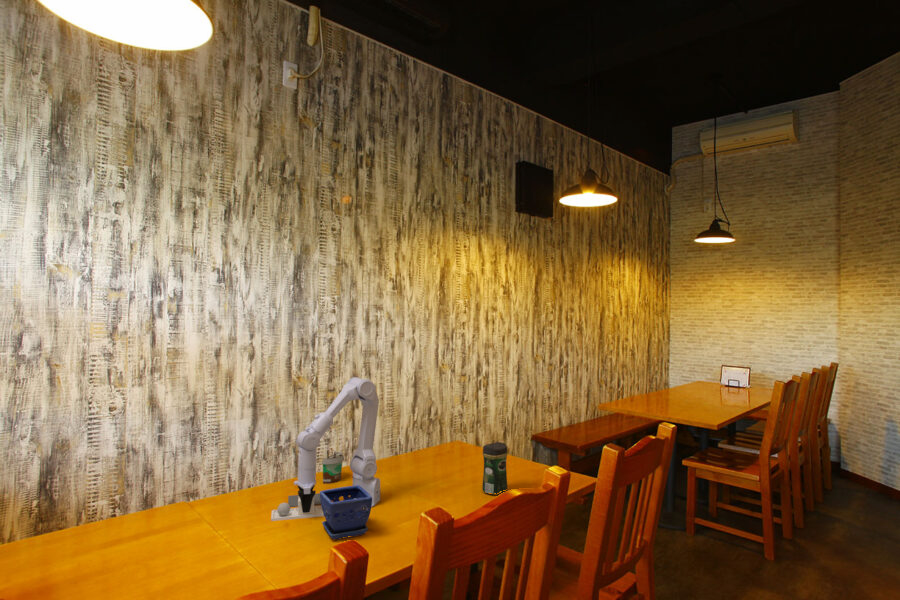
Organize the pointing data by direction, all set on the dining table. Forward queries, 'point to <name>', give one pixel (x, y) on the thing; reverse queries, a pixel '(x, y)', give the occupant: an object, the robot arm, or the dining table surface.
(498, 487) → the coffee jar
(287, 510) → the grey ball
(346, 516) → the flower pot
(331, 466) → the food container
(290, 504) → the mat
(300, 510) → the letter cube
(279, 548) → the dining table surface
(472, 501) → the dining table surface
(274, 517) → the sorting tray
